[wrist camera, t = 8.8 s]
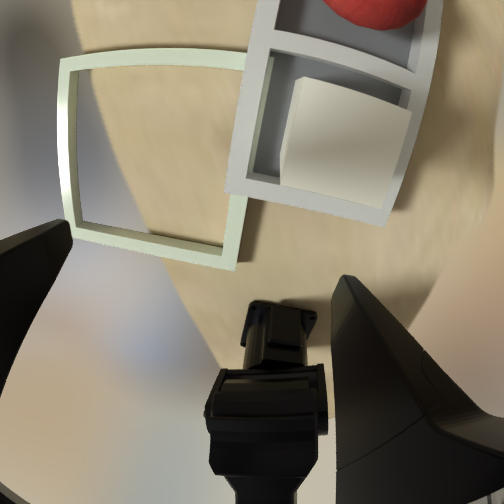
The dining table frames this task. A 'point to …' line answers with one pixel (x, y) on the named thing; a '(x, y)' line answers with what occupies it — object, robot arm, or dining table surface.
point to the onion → (378, 12)
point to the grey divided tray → (332, 71)
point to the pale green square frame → (69, 169)
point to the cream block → (341, 142)
